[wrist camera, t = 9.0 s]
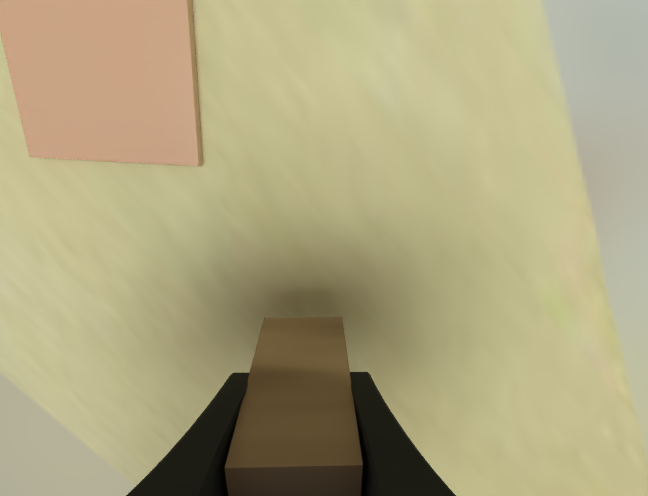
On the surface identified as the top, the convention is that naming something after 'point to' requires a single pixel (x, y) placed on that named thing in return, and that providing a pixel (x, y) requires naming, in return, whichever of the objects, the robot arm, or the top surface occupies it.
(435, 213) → the top surface
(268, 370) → the block
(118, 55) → the tile
